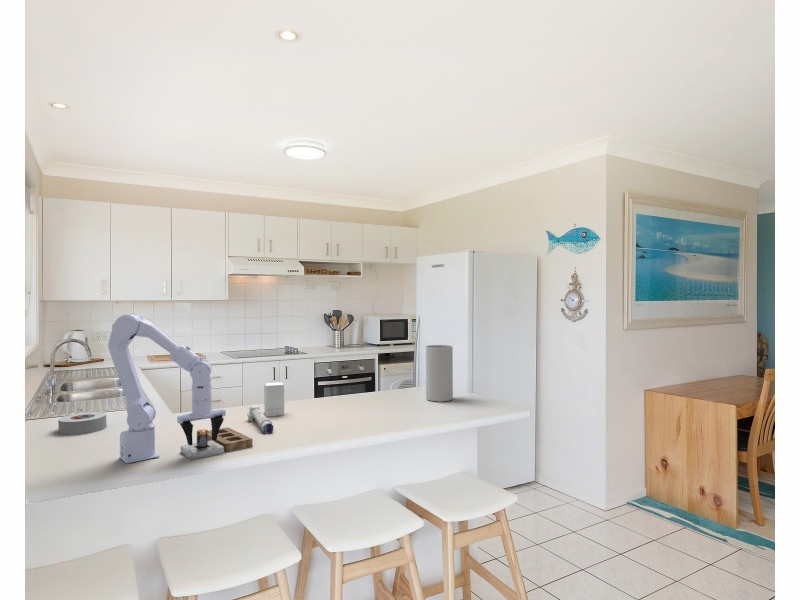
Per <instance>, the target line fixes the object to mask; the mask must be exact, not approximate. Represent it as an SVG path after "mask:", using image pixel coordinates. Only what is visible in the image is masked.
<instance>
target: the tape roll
mask: <svg viewBox="0 0 800 600" xmlns="http://www.w3.org/2000/svg"><path fill="white" fill-rule="evenodd" d="M57 422H58V424H57V425H58V434H60V435H64V436H75V435H76V436H77V435H85V434H92V433H97V432H100V431H103V430H105V429H106V428H107V427H108V426H107V425H108V424H107V414H106V413H105V412H99V411H91V412H89V411H87V412H80V413H74V414H68V415H65V416H62V417H60V418H59V419H58V421H57Z"/></svg>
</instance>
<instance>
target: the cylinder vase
mask: <svg viewBox="0 0 800 600" xmlns="http://www.w3.org/2000/svg"><path fill="white" fill-rule="evenodd" d="M453 354H454V352H453V345H447V344H437V345H436V344H432V345H431V344H430V345H426V346H425V400H426V401H429V400H430V401H429V402H433V401H438V402H437V403H445V402H444V401H447V402H451V401H452V400H453V397H454V393H453V391H454V390H453V387H454V386H453V385H454V381H453V380H454V379H453V378H454V377H453V376H454V375H453V372H454V371H453V370H454V369H453V368H454V367H453ZM450 400H451V401H450Z"/></svg>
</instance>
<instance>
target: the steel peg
mask: <svg viewBox="0 0 800 600" xmlns="http://www.w3.org/2000/svg"><path fill="white" fill-rule="evenodd" d="M207 431H208V429H205V428H204V429H203V428H202V429H199V430H196V443H197V449H201V448H207V447H208V435H207Z"/></svg>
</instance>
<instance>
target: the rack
mask: <svg viewBox="0 0 800 600" xmlns="http://www.w3.org/2000/svg"><path fill="white" fill-rule="evenodd" d="M207 435H208V441H211V440H212V429H211V430H210V429H209V430H207ZM212 441H214V440H212ZM253 441H254V440H253V438H252V437H249V436H247V435H245V434H243V433H241V432H238V431H237V430H234V429H232V428H230V427H228V426H227V427H220V429H219V432H218V435H217V440H216V441H214V442H216V443H218V444H220V445H221V446H223V447H224V453H225V452H226V453H227V452H231V451H237V450H243V449H248V448H251V447H253Z"/></svg>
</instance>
